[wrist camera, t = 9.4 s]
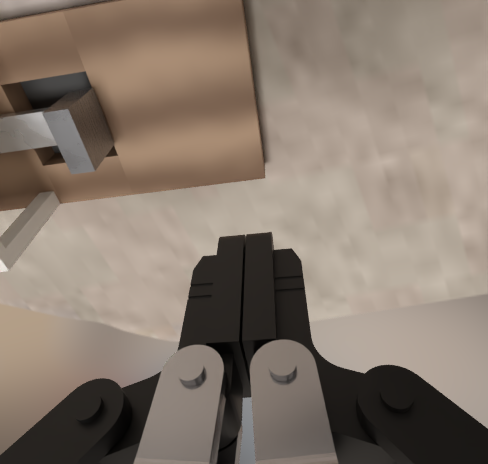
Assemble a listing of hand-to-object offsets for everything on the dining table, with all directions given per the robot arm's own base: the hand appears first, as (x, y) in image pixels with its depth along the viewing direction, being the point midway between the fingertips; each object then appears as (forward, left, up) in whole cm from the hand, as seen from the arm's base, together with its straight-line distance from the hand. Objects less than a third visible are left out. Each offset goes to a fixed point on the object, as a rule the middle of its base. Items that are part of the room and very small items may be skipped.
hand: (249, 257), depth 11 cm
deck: (+2, -20, -26) cm, 33 cm away
